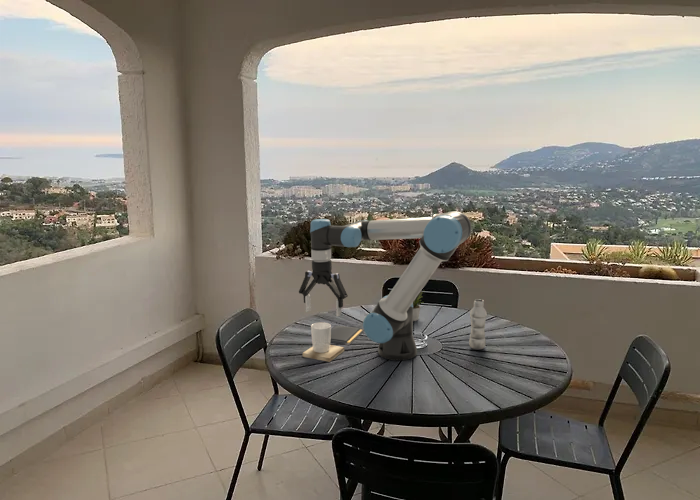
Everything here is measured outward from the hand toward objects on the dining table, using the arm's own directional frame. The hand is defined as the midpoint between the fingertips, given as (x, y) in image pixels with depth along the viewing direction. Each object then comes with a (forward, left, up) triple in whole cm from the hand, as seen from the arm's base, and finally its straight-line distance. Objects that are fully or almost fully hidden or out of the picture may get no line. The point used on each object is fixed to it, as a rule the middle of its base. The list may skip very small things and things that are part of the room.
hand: (323, 313), depth 207 cm
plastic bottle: (-53, -31, -17) cm, 63 cm away
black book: (+3, -21, -18) cm, 28 cm away
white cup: (+1, 0, -15) cm, 15 cm away
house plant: (-16, -54, -17) cm, 59 cm away
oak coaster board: (0, 0, -17) cm, 17 cm away
